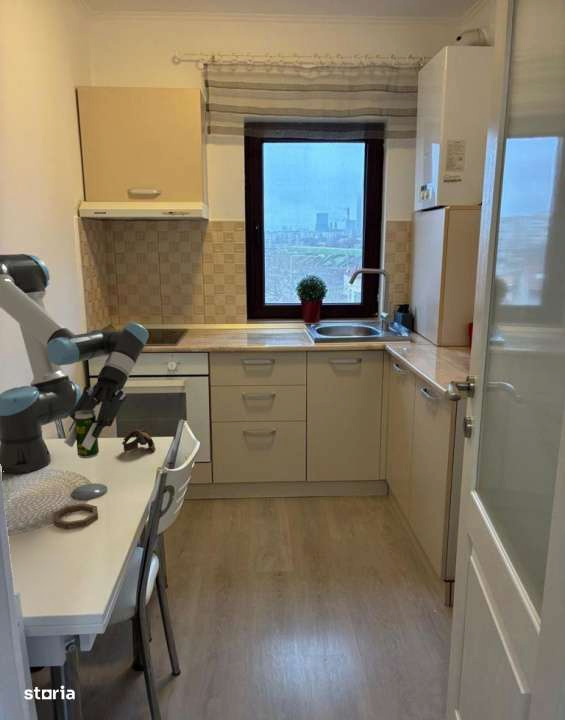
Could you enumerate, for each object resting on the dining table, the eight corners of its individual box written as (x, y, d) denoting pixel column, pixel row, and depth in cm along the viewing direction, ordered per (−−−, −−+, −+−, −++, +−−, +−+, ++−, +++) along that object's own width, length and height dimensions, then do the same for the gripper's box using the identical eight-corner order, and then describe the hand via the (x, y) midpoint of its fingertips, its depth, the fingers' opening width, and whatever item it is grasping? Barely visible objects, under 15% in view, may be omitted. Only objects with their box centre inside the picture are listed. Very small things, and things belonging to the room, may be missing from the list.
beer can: (88, 450, 150) (85, 408, 148) (103, 453, 148) (100, 410, 146) (73, 457, 145) (69, 413, 143) (88, 460, 143) (84, 416, 141)
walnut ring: (44, 523, 131) (44, 518, 131) (76, 506, 140) (75, 501, 140) (76, 532, 127) (75, 526, 127) (106, 514, 136) (106, 508, 136)
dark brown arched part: (156, 456, 176) (143, 438, 172) (131, 469, 177) (116, 451, 173) (159, 435, 187) (146, 418, 183) (135, 447, 187) (121, 430, 184)
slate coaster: (64, 495, 147) (64, 493, 146) (89, 483, 155) (89, 481, 154) (90, 502, 143) (90, 499, 143) (114, 488, 151) (114, 486, 151)
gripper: (148, 382, 153) (112, 457, 142) (98, 376, 161) (59, 447, 149) (135, 367, 147) (96, 444, 136) (83, 362, 155) (41, 435, 143)
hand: (76, 446), depth 143 cm, fingers closed on beer can, 5 cm apart
